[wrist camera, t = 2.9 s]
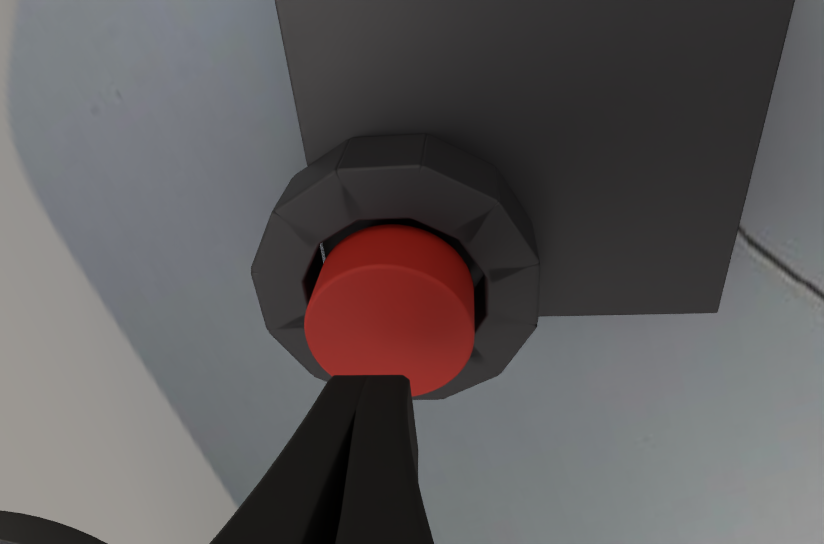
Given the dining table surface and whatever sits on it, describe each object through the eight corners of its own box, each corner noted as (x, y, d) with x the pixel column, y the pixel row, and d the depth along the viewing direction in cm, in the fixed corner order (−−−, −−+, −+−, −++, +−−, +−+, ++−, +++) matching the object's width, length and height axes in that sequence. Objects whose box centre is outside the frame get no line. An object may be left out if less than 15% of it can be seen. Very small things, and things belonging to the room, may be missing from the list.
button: (333, 349, 15) (319, 400, 13) (307, 225, 13) (287, 268, 12) (475, 347, 15) (476, 399, 13) (471, 219, 13) (471, 263, 11)
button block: (314, 319, 18) (286, 401, 16) (231, -50, 13) (163, -29, 10) (688, 312, 17) (734, 399, 14) (778, -102, 12) (881, -95, 9)
